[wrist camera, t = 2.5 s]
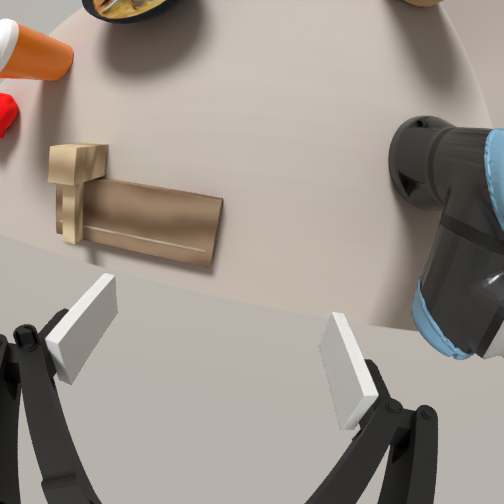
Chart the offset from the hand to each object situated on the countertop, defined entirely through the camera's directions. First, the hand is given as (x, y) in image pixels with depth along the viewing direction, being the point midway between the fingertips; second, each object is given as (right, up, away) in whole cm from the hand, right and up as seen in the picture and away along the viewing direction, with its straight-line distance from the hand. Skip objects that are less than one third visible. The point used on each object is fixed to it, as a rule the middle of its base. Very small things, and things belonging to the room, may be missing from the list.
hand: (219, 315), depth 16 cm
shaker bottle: (-31, +36, +15) cm, 50 cm away
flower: (-45, +31, +18) cm, 57 cm away
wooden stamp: (-24, +14, +24) cm, 37 cm away
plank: (-17, +10, +26) cm, 32 cm away
